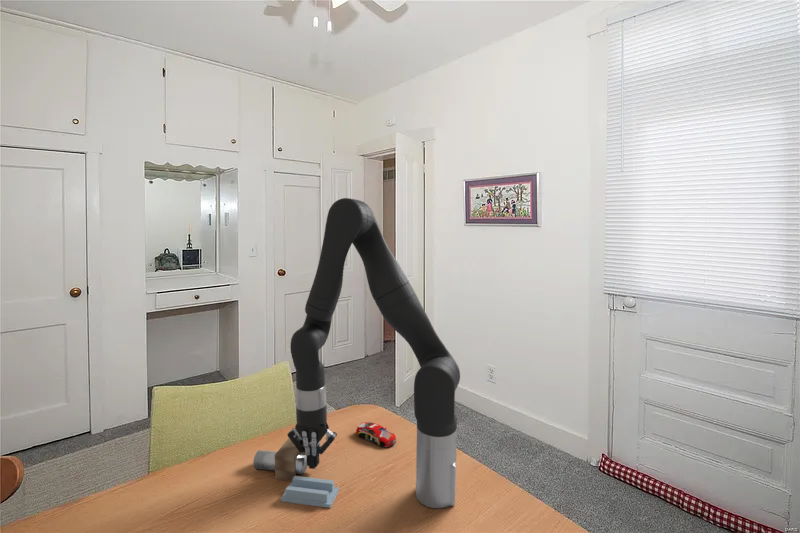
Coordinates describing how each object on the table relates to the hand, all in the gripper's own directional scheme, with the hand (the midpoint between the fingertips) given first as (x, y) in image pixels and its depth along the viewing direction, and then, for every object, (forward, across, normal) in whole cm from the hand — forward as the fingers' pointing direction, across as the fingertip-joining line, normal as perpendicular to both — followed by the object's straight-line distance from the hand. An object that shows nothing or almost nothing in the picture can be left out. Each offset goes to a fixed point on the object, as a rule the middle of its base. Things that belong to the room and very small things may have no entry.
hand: (313, 466), depth 105 cm
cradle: (+2, -3, +8) cm, 9 cm away
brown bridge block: (+2, +6, 0) cm, 6 cm away
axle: (+2, +9, 0) cm, 9 cm away
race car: (+2, -12, -19) cm, 22 cm away
